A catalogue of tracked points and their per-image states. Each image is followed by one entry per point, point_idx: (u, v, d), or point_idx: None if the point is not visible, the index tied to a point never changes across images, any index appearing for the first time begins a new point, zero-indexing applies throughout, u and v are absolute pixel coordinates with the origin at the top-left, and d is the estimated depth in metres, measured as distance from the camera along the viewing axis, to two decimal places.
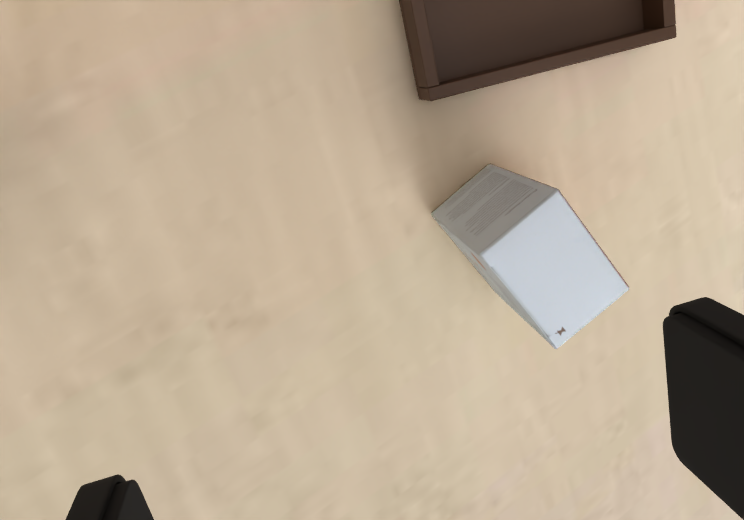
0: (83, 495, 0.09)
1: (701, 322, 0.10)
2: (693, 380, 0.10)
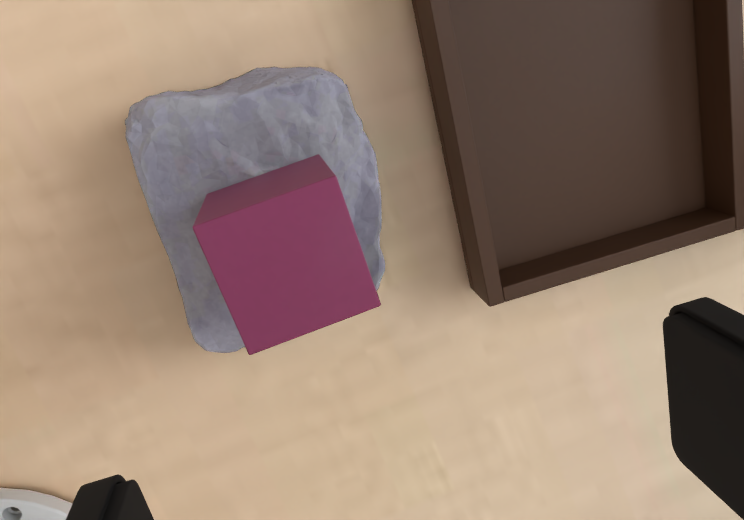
0: (83, 495, 0.09)
1: (701, 322, 0.10)
2: (693, 380, 0.10)
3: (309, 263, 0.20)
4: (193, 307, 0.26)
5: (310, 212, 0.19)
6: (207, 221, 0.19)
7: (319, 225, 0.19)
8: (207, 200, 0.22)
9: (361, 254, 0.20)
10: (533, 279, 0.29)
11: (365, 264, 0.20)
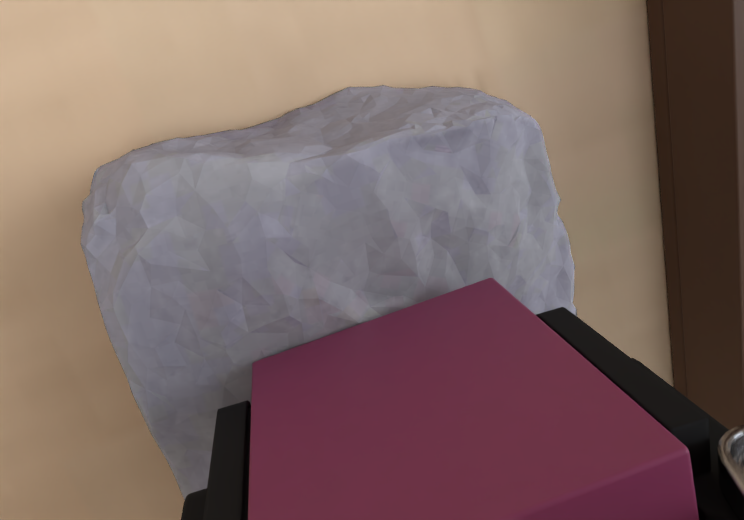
0: (223, 415, 0.10)
1: (554, 330, 0.10)
2: None
3: None
4: None
5: None
6: None
7: None
8: (261, 406, 0.09)
9: None
10: None
11: None
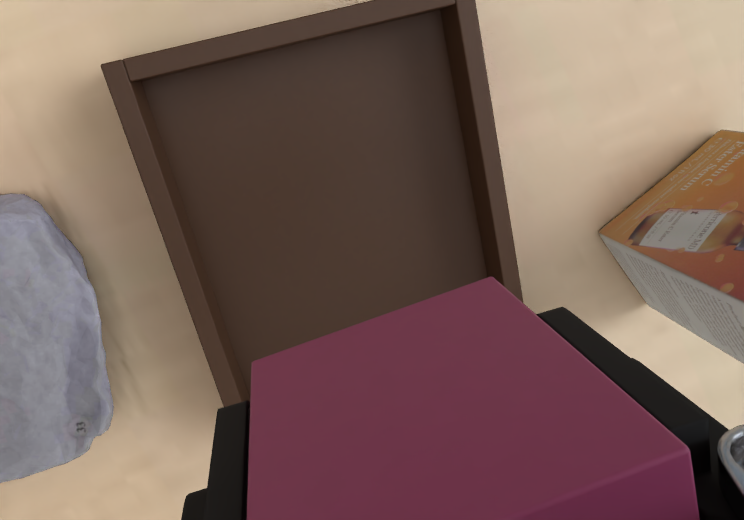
0: (223, 415, 0.10)
1: None
2: None
3: None
4: None
5: None
6: None
7: None
8: (260, 405, 0.09)
9: None
10: None
11: None
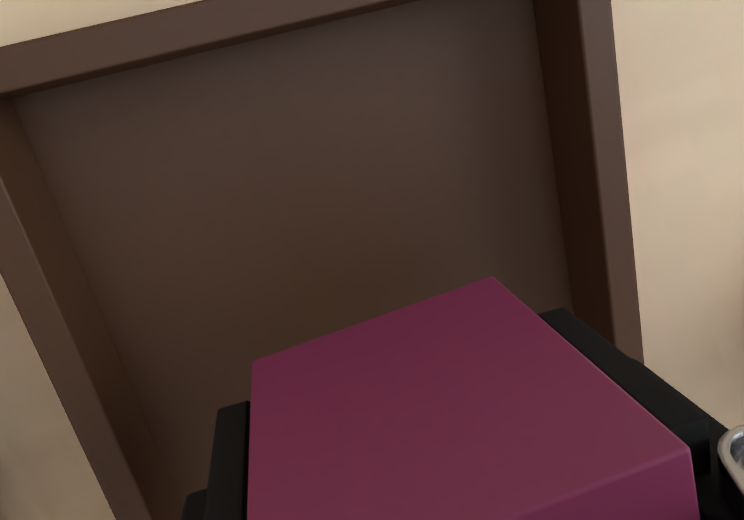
0: (223, 415, 0.10)
1: None
2: None
3: None
4: None
5: None
6: None
7: None
8: (260, 405, 0.09)
9: None
10: None
11: None
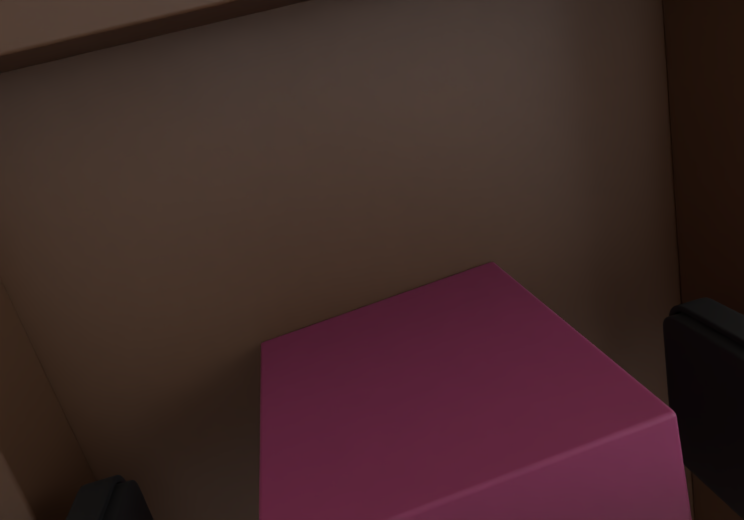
0: (83, 495, 0.09)
1: (701, 322, 0.10)
2: (693, 380, 0.10)
3: None
4: None
5: (594, 509, 0.07)
6: None
7: None
8: (270, 382, 0.10)
9: None
10: None
11: None
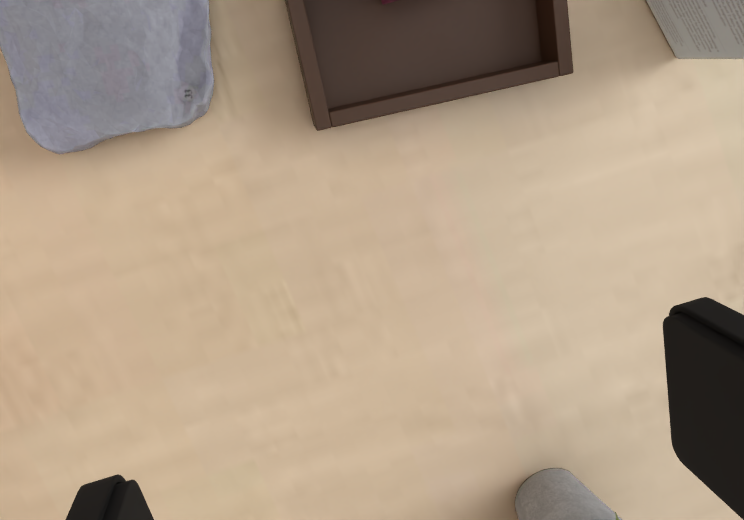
0: (83, 495, 0.09)
1: (701, 322, 0.10)
2: (693, 380, 0.10)
3: None
4: (24, 98, 0.28)
5: None
6: None
7: None
8: None
9: None
10: (359, 106, 0.31)
11: None
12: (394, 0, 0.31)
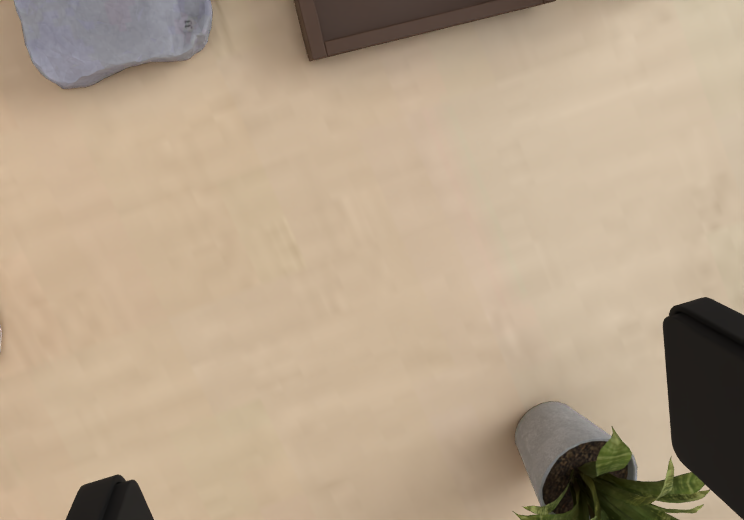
0: (83, 495, 0.09)
1: (701, 322, 0.10)
2: (693, 380, 0.10)
3: None
4: (30, 29, 0.29)
5: None
6: None
7: None
8: None
9: None
10: (353, 36, 0.32)
11: None
12: None
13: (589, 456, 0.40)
